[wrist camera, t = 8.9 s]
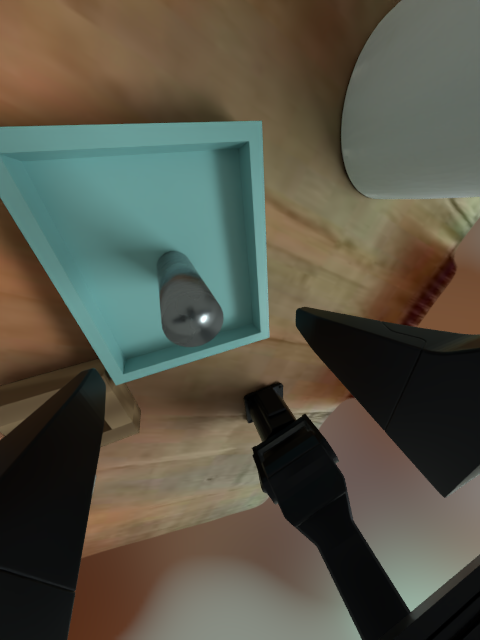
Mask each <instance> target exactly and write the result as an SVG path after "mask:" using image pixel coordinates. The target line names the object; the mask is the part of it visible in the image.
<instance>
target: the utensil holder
mask: <svg viewBox="0 0 480 640" xmlns="http://www.w3.org/2000/svg"><path fill="white" fill-rule="evenodd" d="M341 145H342V154H343V160H344V164H345V168H346V171H347V174H348V176H349V178H350V180H351V182H352V184H353V185H354V186H355V188H356V189H357V190H358V191H359V192H360V193H362V194H363V195H365V196H367V197H369V198H373V199H434V198H461V197H480V0H401V1H400V2H399V3H398V4H397V5H396V6H395V7H394V8H393V9H392V10H391V11H390V12H389V13H388V14H387V15H386V16H385V17H384V18H383V19H382V20H381V21H380V23H379V24H378V25H377V27H376V28H375V30H374V31H373V32H372V34H371V36H370V37H369V39H368V40H367V42H366V44H365V46H364V48H363V50H362V51H361V53H360V55H359V57H358V60H357V62H356V65H355V67H354V70H353V73H352V76H351V79H350V82H349V85H348V89H347V93H346V97H345V102H344V108H343V115H342V127H341Z"/></svg>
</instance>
